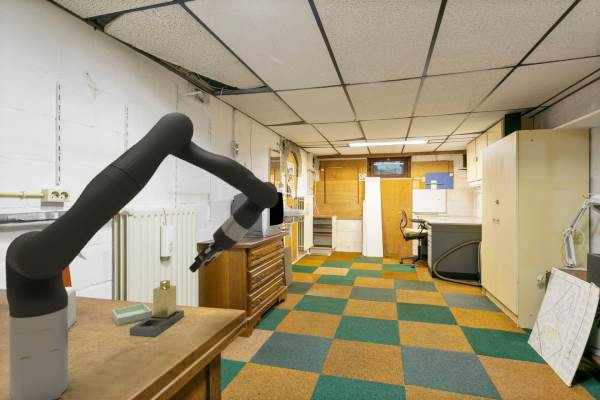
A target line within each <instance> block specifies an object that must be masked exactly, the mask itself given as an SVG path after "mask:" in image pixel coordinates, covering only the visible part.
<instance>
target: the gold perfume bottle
mask: <svg viewBox="0 0 600 400" xmlns="http://www.w3.org/2000/svg"><path fill="white" fill-rule="evenodd" d="M152 292H153V293H152V295H153V296H152V297H153V299H152V301H153V302H152V303H153V305H152V306H153V307H152V308H153V309H152V315H153V318H158V319H169V318H171V317H172V316H174V315H175V314H176V310H177V285H171V280H169V279H166V280H165V279H163V280H160V281H159V286H158V287H156V288H153V289H152Z"/></svg>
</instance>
